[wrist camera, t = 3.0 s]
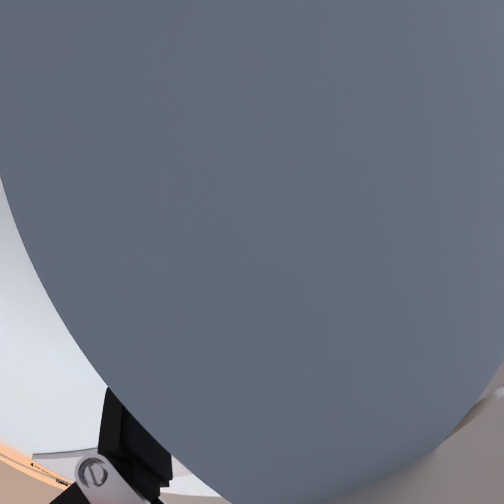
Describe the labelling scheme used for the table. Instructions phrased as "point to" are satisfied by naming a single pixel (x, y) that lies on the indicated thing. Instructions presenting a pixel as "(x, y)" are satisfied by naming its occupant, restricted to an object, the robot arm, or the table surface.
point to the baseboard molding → (68, 460)
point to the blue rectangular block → (267, 221)
